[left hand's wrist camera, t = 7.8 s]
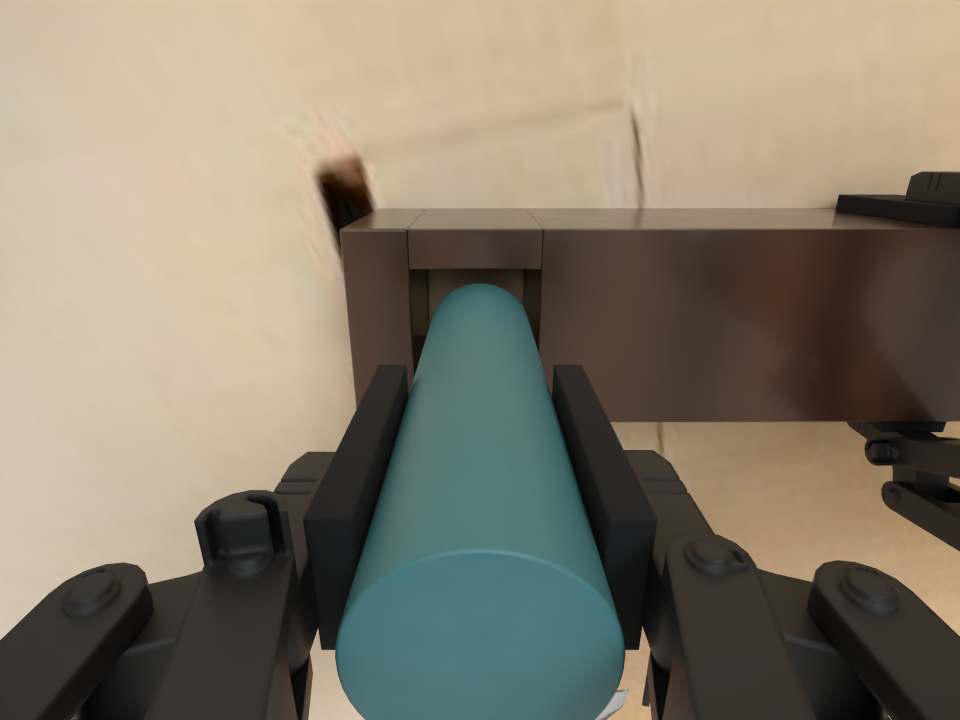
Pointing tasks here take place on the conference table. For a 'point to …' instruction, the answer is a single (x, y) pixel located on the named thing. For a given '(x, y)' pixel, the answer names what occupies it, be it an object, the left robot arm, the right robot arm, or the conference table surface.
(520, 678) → the teal peg
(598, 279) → the walnut block
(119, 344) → the conference table surface
